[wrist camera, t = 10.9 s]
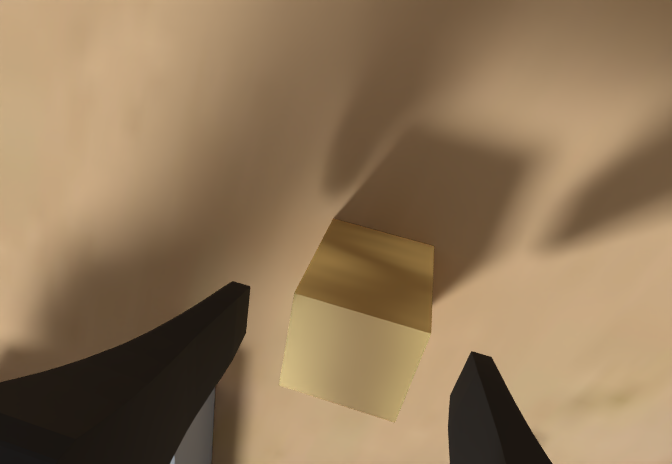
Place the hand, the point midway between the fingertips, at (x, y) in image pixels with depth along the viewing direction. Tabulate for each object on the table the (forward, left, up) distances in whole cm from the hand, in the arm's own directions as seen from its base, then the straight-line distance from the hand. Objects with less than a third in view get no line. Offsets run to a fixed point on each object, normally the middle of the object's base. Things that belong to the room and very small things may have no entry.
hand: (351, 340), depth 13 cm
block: (0, 0, -4) cm, 4 cm away
